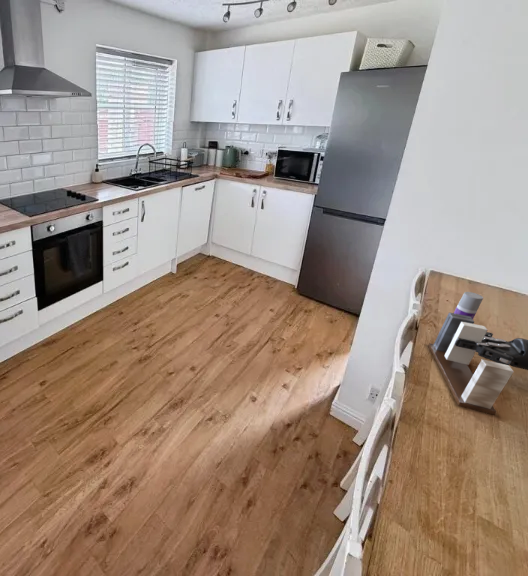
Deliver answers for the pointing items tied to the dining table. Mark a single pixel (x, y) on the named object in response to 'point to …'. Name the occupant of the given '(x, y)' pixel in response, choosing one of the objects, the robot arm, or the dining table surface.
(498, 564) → the dining table surface
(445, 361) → the book rack
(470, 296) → the container
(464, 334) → the white book
